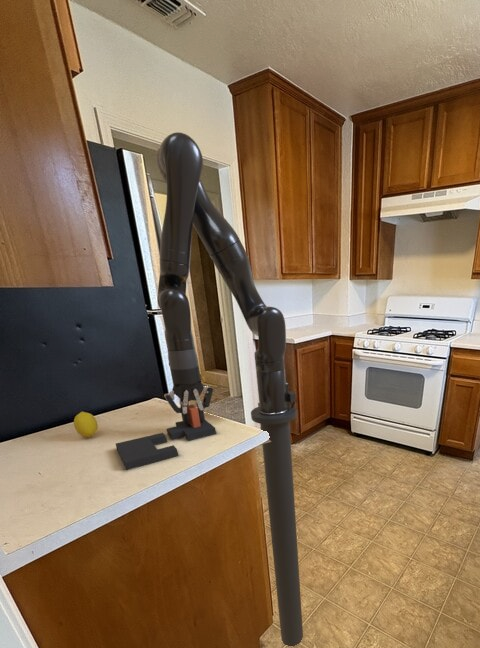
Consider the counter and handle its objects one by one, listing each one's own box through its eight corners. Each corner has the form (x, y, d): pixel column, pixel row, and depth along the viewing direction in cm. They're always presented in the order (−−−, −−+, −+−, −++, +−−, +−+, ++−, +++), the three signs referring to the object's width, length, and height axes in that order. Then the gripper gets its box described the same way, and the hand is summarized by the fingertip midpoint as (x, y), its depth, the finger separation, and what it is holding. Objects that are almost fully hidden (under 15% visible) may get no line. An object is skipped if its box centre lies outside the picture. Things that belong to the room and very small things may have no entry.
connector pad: (202, 422, 112) (198, 400, 109) (216, 434, 103) (212, 409, 100) (164, 431, 106) (159, 407, 103) (175, 444, 97) (170, 418, 94)
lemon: (74, 440, 101) (65, 414, 98) (91, 433, 106) (83, 407, 103) (88, 442, 99) (80, 415, 96) (105, 434, 104) (98, 409, 101)
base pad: (164, 438, 101) (163, 432, 100) (178, 456, 90) (176, 448, 89) (117, 450, 94) (115, 443, 93) (126, 470, 84) (124, 462, 83)
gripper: (160, 371, 91) (173, 432, 98) (213, 363, 99) (222, 421, 105) (154, 366, 97) (166, 425, 103) (204, 360, 104) (213, 414, 111)
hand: (194, 422), depth 104 cm, fingers open, 3 cm apart
